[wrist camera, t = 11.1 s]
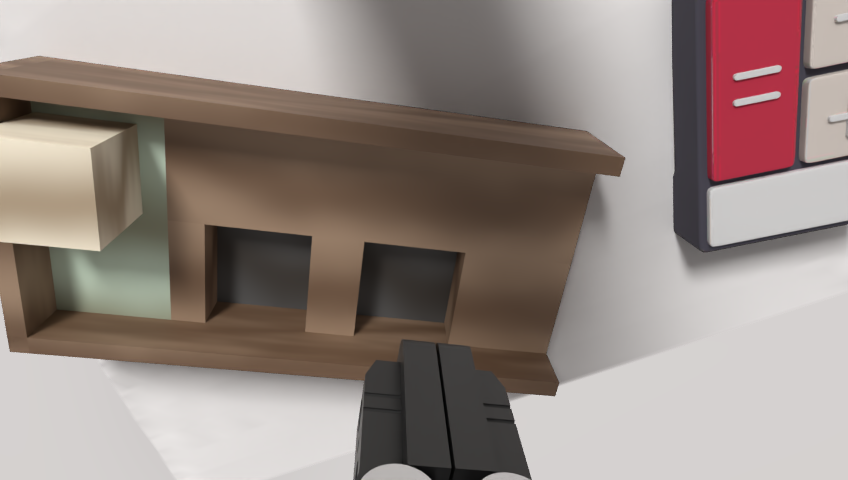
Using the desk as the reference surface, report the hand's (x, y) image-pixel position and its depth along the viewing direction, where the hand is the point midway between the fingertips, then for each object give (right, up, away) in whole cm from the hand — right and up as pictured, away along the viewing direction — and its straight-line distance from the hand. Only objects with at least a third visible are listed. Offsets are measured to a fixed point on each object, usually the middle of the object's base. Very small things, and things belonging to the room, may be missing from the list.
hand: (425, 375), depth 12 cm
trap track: (-7, +4, +23) cm, 24 cm away
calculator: (+20, +11, +22) cm, 32 cm away
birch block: (-18, +7, +17) cm, 26 cm away
